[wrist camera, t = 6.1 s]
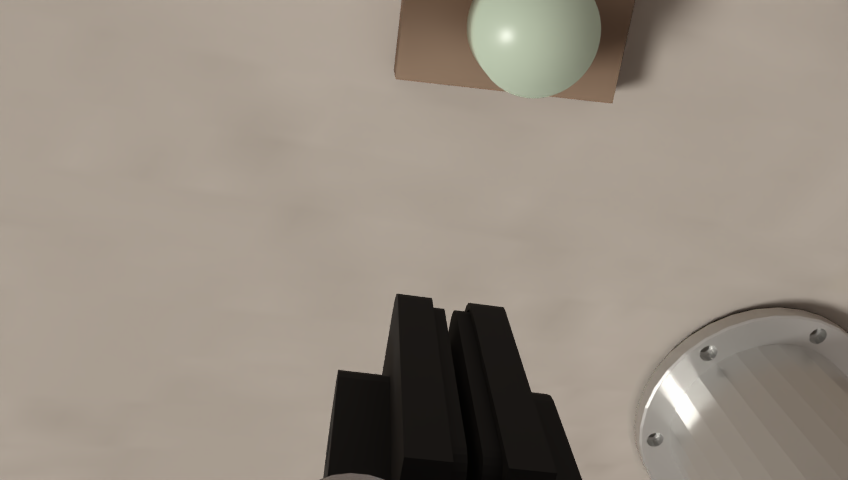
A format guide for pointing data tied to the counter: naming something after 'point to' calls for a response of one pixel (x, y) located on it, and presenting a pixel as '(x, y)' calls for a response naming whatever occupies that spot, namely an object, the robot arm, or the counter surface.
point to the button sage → (534, 43)
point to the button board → (455, 64)
